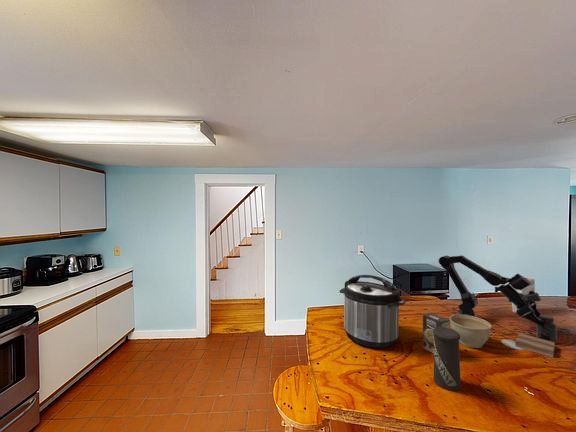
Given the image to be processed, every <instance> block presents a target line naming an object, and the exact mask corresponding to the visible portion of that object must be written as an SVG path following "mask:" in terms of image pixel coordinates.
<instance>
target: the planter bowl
mask: <svg viewBox="0 0 576 432" xmlns="http://www.w3.org/2000/svg"><path fill="white" fill-rule="evenodd" d="M449 320H450V329H453V330H455V331H457V332H458V333H459V334H460V340H459V344H461V345H463V346H465V347H469V348H472V349H481V348H483V347H484V344H486V342H487V341H488V340H489V338H490V335H491V332H492V331H491V330H492V324H491V323H490V322H488V321H487V320H485V319H483V318H480V317H477V316H475V317H473V316H468V315H459V314H453V315H452V314H451V316H449Z"/></svg>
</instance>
